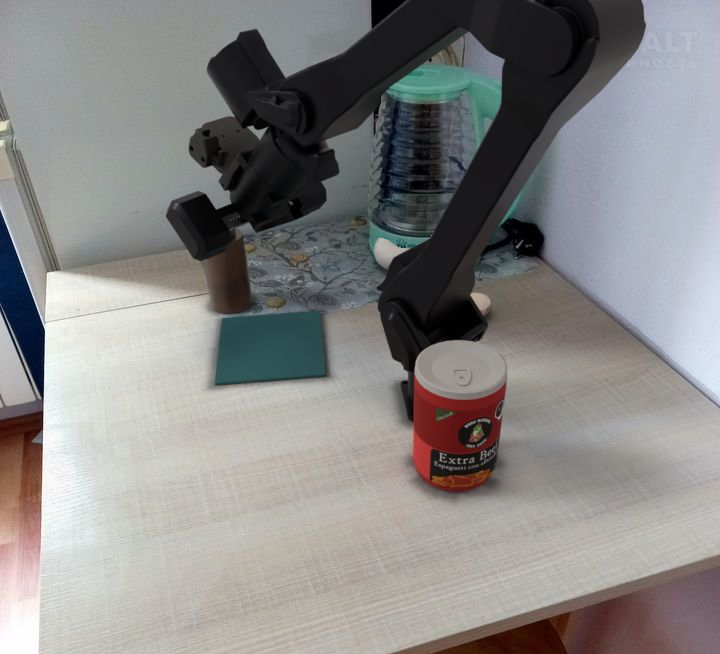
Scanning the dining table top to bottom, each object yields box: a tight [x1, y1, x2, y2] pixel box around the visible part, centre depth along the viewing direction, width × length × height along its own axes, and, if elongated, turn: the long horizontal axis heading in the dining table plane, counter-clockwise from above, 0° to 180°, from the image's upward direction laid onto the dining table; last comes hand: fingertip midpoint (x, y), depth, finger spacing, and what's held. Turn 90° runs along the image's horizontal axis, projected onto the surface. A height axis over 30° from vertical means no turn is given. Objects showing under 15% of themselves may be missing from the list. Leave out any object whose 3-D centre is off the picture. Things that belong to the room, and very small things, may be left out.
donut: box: [373, 237, 410, 271], centre depth 96 cm, size 10×4×10 cm
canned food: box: [412, 340, 508, 493], centre depth 62 cm, size 8×8×11 cm
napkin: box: [214, 310, 327, 386], centre depth 82 cm, size 14×12×1 cm
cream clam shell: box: [471, 292, 492, 317], centre depth 85 cm, size 4×5×2 cm
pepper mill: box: [202, 228, 254, 315], centre depth 86 cm, size 5×5×11 cm
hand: (225, 241), depth 84 cm, fingers open, 9 cm apart
